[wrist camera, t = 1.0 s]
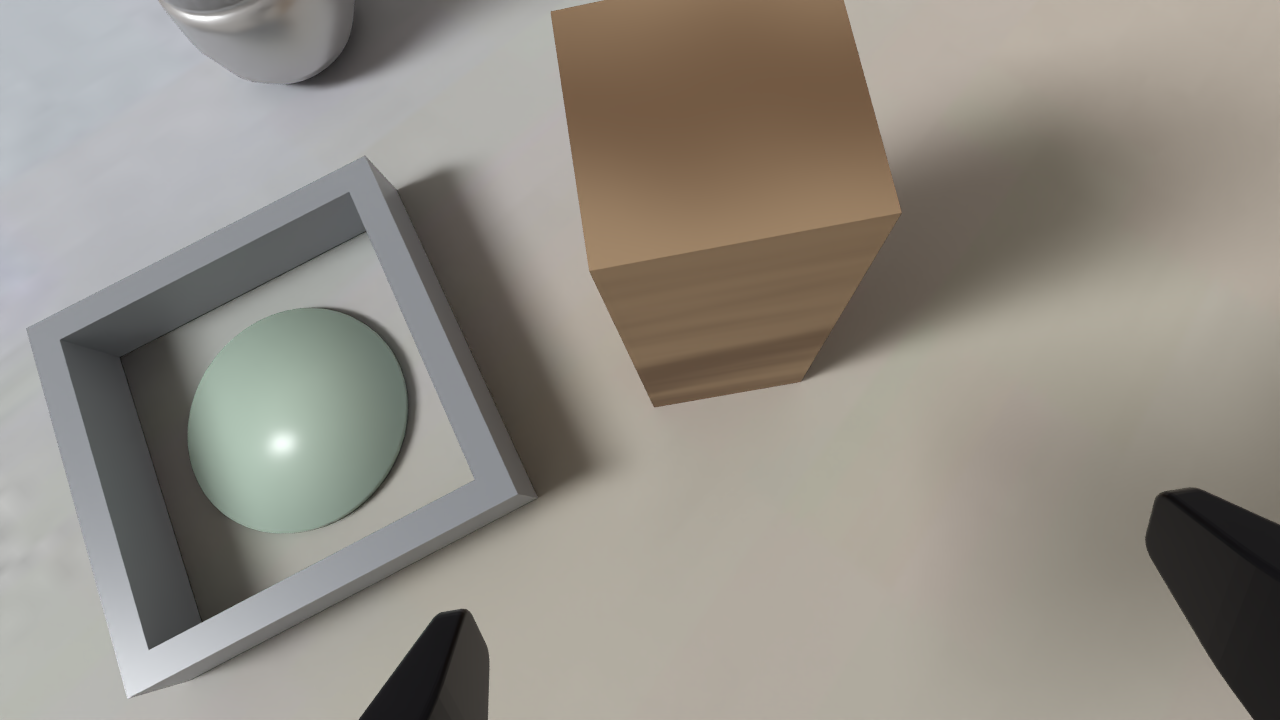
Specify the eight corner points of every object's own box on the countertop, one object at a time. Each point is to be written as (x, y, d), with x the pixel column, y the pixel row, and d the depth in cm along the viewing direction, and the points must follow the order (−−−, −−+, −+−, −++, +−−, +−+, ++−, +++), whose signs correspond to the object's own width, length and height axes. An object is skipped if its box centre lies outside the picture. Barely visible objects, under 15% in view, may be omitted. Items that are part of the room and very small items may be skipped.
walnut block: (800, 381, 24) (902, 212, 11) (654, 407, 24) (589, 270, 11) (770, 245, 25) (830, -48, 12) (631, 271, 25) (550, 11, 13)
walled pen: (537, 497, 24) (518, 494, 21) (188, 681, 23) (127, 698, 21) (396, 189, 27) (364, 155, 24) (89, 346, 27) (26, 328, 24)
